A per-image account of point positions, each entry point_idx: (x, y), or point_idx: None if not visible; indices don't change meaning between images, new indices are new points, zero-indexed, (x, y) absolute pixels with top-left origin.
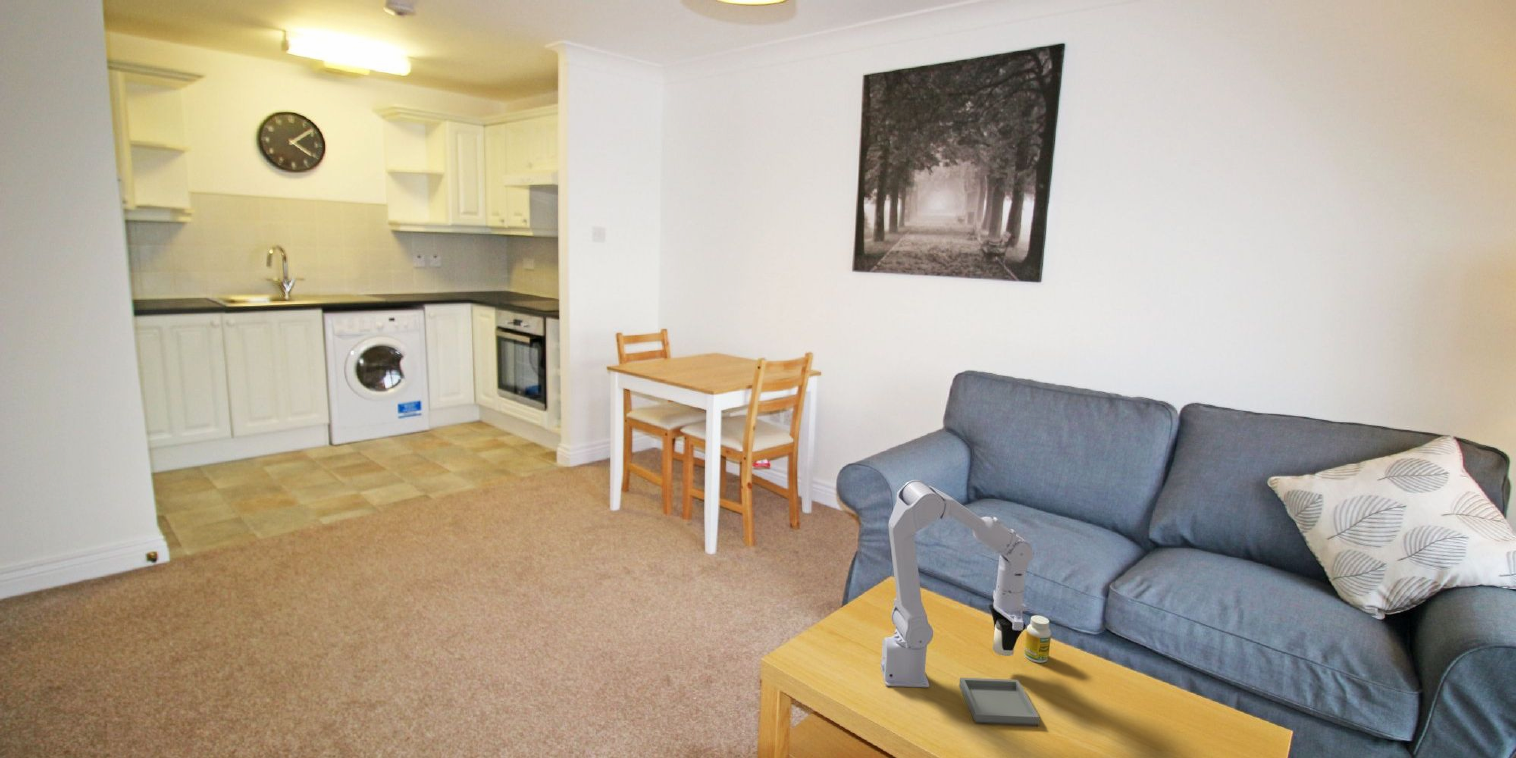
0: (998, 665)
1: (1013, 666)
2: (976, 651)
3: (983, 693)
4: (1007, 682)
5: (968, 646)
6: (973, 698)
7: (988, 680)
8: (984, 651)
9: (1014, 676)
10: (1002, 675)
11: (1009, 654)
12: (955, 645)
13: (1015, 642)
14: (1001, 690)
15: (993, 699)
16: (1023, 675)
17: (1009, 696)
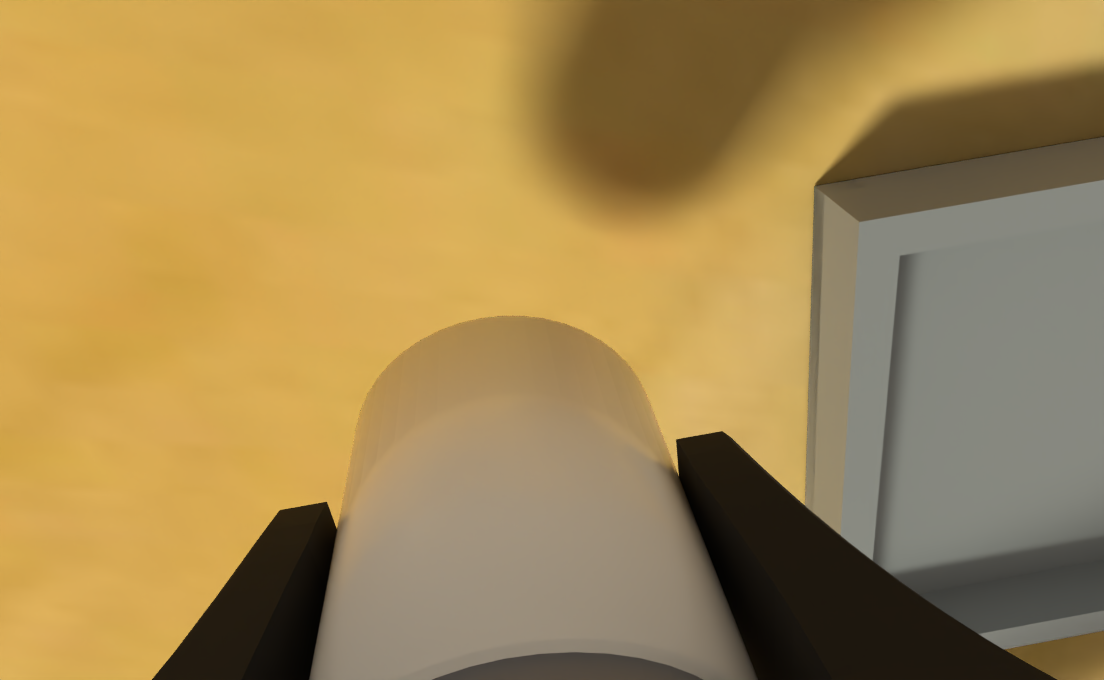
0: (400, 319)
1: (367, 157)
2: (190, 496)
3: (938, 492)
4: (889, 332)
5: (121, 555)
6: (995, 555)
7: (870, 498)
8: (150, 428)
9: (588, 178)
10: (592, 301)
11: (644, 397)
12: (161, 645)
13: (816, 521)
14: (898, 354)
15: (1028, 429)
16: (545, 65)
17: (994, 295)
